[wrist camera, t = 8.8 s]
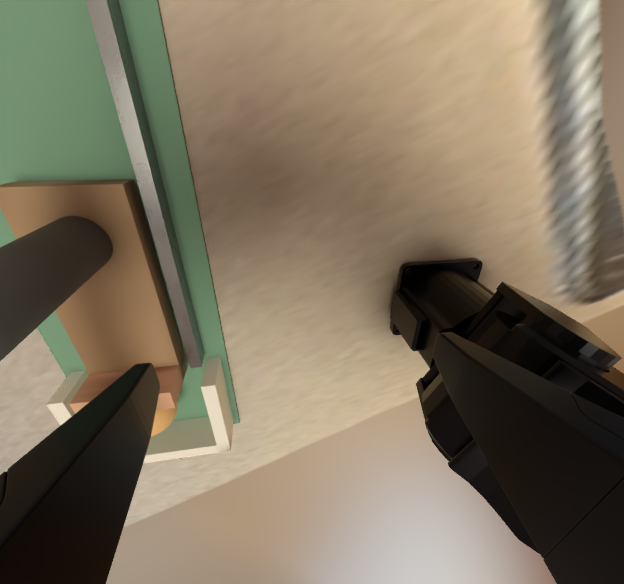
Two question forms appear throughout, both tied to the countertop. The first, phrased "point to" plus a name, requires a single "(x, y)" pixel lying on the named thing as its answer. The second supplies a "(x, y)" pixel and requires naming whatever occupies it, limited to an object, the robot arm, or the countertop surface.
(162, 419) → the foosball
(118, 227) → the striker sled
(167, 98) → the mat
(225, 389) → the box
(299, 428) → the countertop surface
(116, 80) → the guide rail
